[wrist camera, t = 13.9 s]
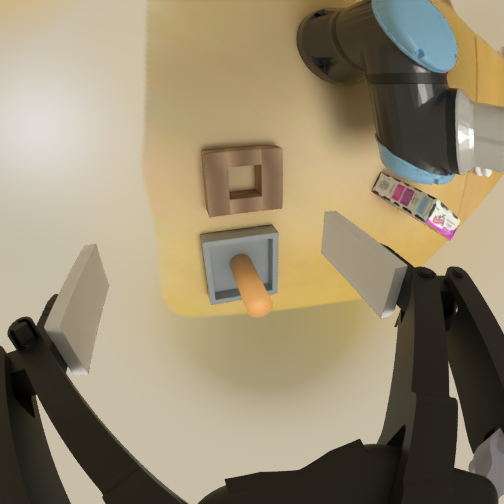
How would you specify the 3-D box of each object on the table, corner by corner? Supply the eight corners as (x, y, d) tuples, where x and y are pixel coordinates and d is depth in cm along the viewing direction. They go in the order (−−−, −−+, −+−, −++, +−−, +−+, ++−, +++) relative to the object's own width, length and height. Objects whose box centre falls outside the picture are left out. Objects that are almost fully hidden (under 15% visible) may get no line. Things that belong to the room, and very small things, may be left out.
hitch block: (274, 145, 45) (282, 148, 41) (274, 201, 50) (282, 208, 46) (201, 150, 42) (203, 153, 39) (206, 208, 47) (209, 217, 44)
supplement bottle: (466, 148, 55) (494, 157, 47) (466, 166, 58) (493, 177, 50) (456, 151, 55) (485, 161, 46) (456, 170, 57) (484, 181, 49)
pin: (250, 252, 52) (272, 294, 41) (251, 270, 54) (272, 314, 43) (229, 255, 51) (246, 298, 40) (230, 274, 53) (247, 319, 42)
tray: (272, 224, 52) (278, 232, 49) (271, 283, 58) (277, 293, 55) (200, 234, 49) (202, 243, 46) (208, 294, 55) (210, 305, 52)
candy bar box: (369, 192, 54) (424, 223, 40) (380, 171, 52) (437, 197, 38) (400, 211, 58) (450, 242, 44) (409, 192, 56) (462, 220, 42)
